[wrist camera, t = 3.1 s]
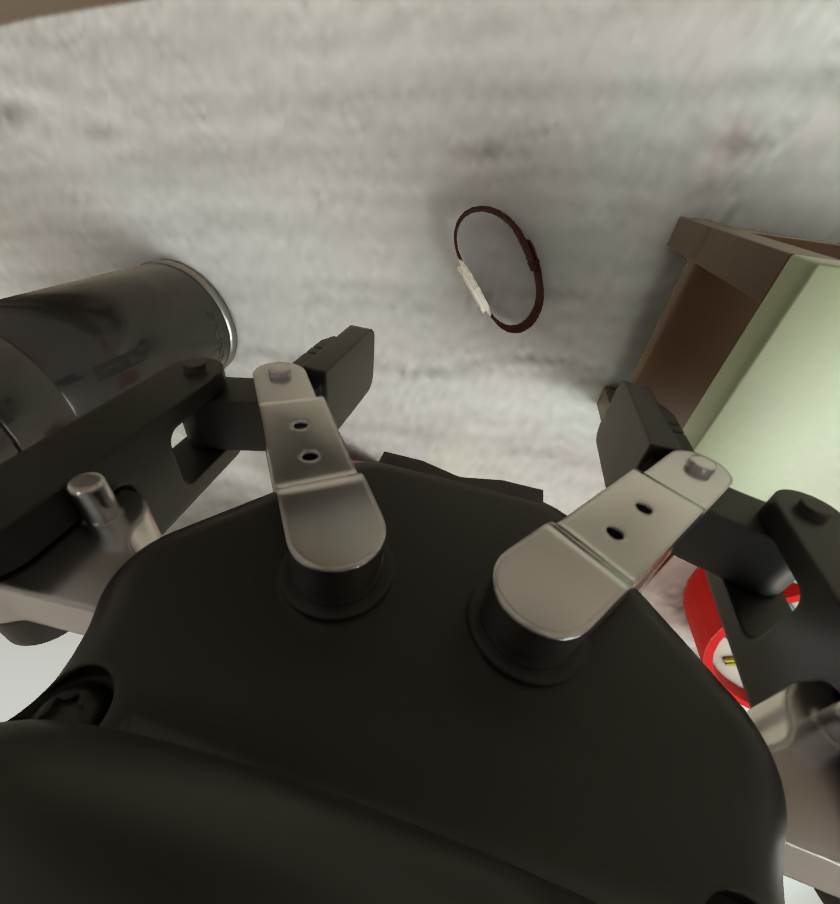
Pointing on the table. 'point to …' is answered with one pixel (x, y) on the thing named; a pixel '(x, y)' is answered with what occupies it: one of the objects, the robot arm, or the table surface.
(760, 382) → the small side table
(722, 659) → the toy clock
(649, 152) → the table surface
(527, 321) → the watch
